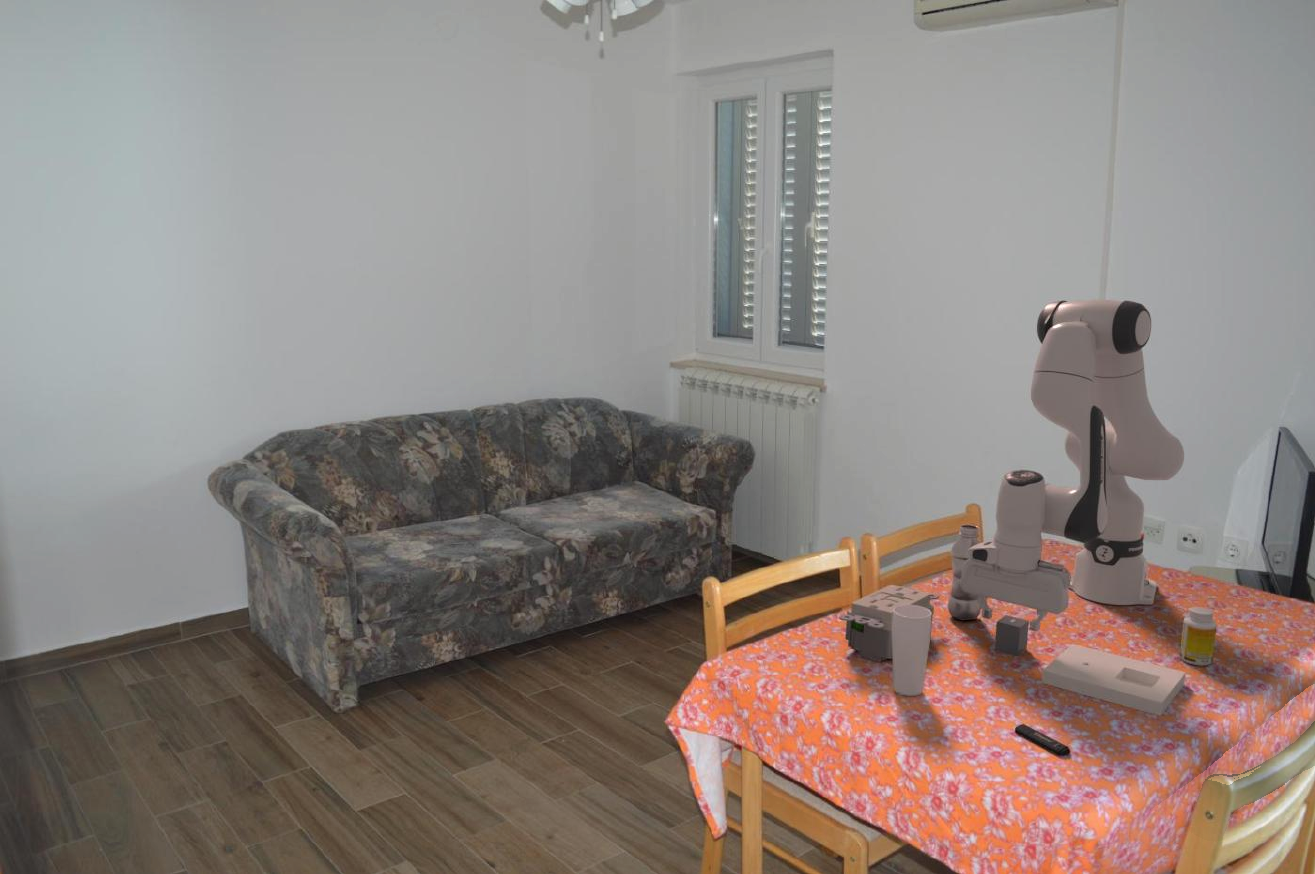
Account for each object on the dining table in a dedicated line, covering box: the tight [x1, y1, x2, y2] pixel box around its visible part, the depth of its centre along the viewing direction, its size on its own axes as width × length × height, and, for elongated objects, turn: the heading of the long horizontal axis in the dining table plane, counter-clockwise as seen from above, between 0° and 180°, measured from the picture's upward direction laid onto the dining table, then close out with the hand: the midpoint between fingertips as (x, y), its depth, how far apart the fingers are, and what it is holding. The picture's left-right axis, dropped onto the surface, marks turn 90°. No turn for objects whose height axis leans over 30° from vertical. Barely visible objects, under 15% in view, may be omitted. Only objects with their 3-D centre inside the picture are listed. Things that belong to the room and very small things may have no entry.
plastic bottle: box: [947, 524, 982, 621], centre depth 214 cm, size 6×7×20 cm
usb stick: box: [1014, 723, 1071, 757], centre depth 163 cm, size 10×3×2 cm, turn 29°
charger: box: [993, 614, 1030, 657], centre depth 199 cm, size 5×5×6 cm
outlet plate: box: [1041, 643, 1187, 717], centre depth 184 cm, size 16×20×2 cm
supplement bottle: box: [1179, 606, 1218, 667], centre depth 194 cm, size 6×6×10 cm
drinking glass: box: [891, 605, 933, 697], centre depth 180 cm, size 7×7×15 cm
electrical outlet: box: [838, 584, 940, 662], centre depth 201 cm, size 12×28×10 cm, turn 142°
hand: (1010, 623), depth 198 cm, fingers open, 8 cm apart
